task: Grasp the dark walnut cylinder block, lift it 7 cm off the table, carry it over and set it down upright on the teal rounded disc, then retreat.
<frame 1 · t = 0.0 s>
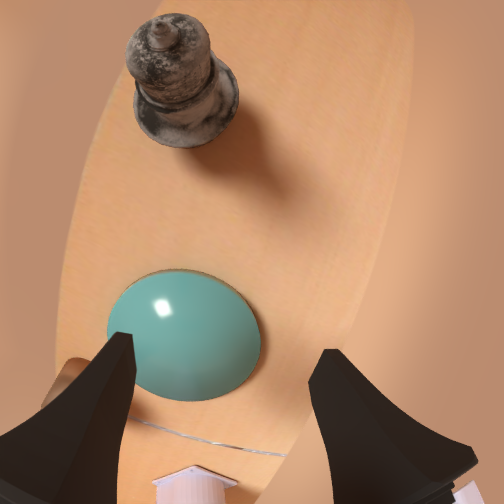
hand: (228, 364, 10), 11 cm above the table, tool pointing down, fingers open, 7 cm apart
salt shaker: (190, 110, 17), on the table
walnut cylinder: (86, 378, 21), on the table
teal rounded disc: (183, 339, 21), on the table
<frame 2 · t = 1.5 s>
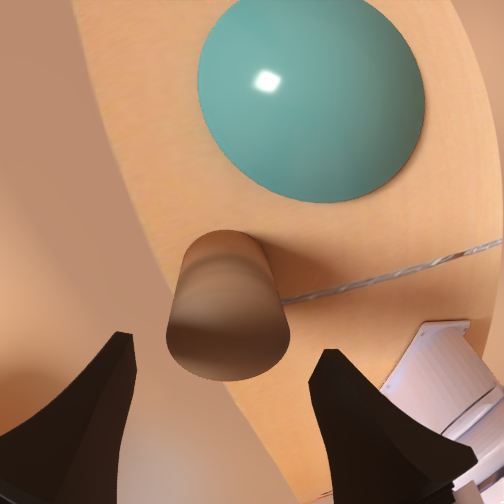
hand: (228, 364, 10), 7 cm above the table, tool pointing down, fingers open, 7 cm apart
walnut cylinder: (225, 270, 16), on the table
teal rounded disc: (319, 86, 12), on the table
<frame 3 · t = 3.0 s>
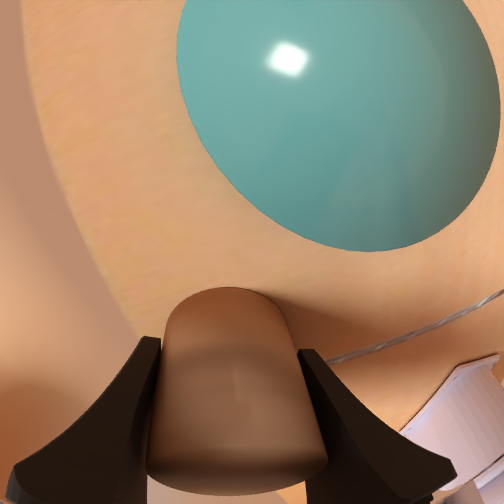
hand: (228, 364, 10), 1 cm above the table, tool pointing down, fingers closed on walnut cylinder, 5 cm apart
walnut cylinder: (226, 338, 11), on the table, touching gripper
teal rounded disc: (373, 70, 7), on the table
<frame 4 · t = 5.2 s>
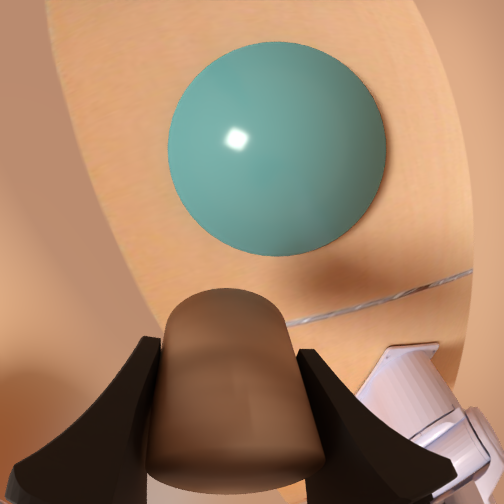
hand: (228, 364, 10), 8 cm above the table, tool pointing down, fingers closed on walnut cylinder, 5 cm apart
walnut cylinder: (225, 338, 11), point 7 cm above the table, touching gripper
teal rounded disc: (281, 148, 15), on the table
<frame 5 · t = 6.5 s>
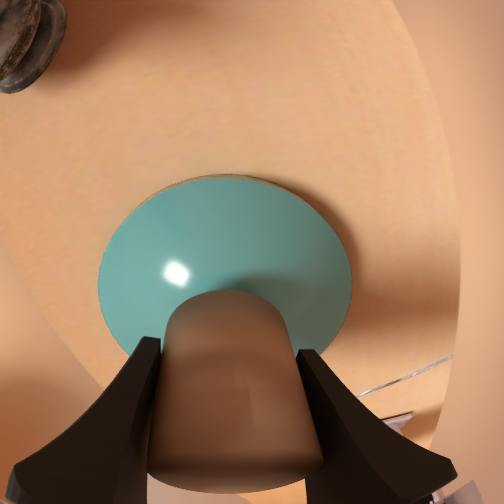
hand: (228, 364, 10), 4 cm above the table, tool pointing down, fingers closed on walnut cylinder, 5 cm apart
salt shaker: (26, 44, 7), on the table
walnut cylinder: (226, 338, 11), point 3 cm above the table, touching gripper
teal rounded disc: (224, 299, 14), on the table
when the fingers open (4 cm above the table, at t = 7.3 s): walnut cylinder drops 1 cm, resting on teal rounded disc.
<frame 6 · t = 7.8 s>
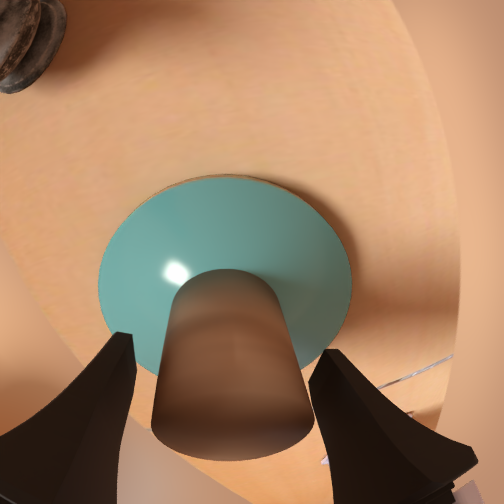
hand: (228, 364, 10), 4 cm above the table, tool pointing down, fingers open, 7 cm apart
salt shaker: (26, 44, 7), on the table
walnut cylinder: (225, 316, 13), point 1 cm above the table, touching teal rounded disc
teal rounded disc: (224, 299, 14), on the table
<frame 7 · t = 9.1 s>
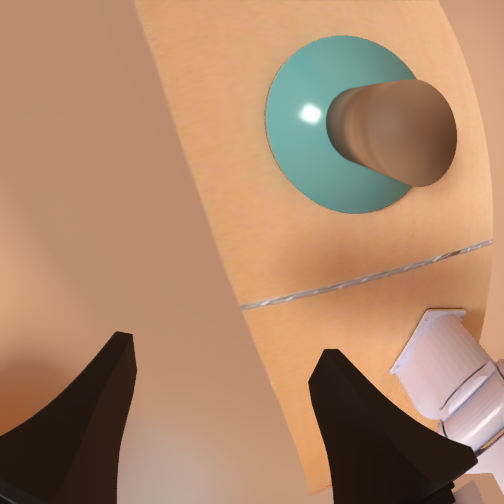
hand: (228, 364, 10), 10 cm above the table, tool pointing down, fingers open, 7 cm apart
walnut cylinder: (362, 125, 15), point 1 cm above the table, touching teal rounded disc
teal rounded disc: (354, 123, 16), on the table
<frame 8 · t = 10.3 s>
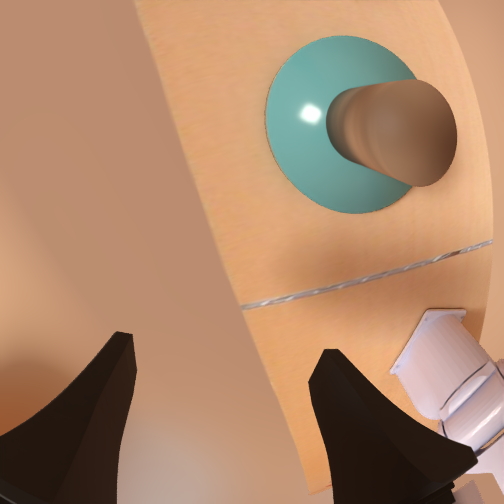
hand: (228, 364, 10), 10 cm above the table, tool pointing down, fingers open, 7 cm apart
walnut cylinder: (362, 125, 15), point 1 cm above the table, touching teal rounded disc
teal rounded disc: (354, 123, 16), on the table
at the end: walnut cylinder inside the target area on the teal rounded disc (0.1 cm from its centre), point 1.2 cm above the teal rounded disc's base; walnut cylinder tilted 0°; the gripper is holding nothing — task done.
